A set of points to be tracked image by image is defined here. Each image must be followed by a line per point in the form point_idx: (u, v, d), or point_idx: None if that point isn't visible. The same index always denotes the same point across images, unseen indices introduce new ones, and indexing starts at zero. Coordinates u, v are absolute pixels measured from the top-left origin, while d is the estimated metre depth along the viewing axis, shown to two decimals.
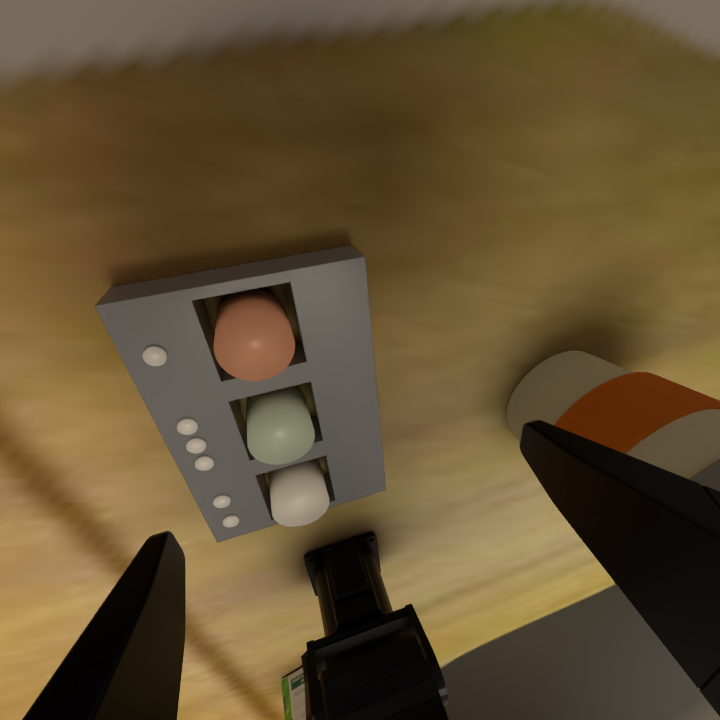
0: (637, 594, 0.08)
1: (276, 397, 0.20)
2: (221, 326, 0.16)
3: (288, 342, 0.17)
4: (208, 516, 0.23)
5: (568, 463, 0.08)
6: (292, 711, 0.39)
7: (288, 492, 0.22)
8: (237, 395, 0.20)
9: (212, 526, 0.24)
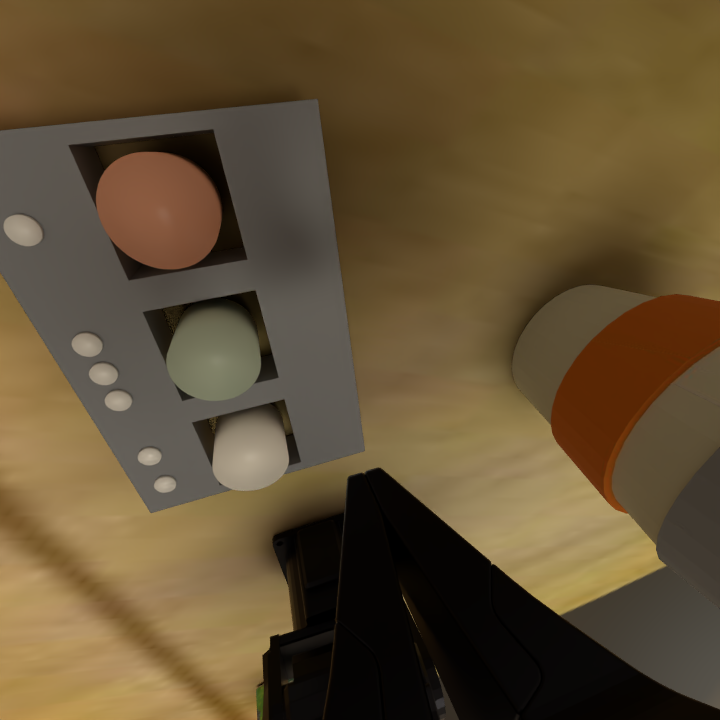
0: (443, 677, 0.07)
1: (209, 310, 0.15)
2: (104, 173, 0.11)
3: (209, 210, 0.12)
4: (134, 476, 0.18)
5: (385, 524, 0.07)
6: None
7: (232, 442, 0.17)
8: (153, 303, 0.15)
9: (141, 491, 0.19)
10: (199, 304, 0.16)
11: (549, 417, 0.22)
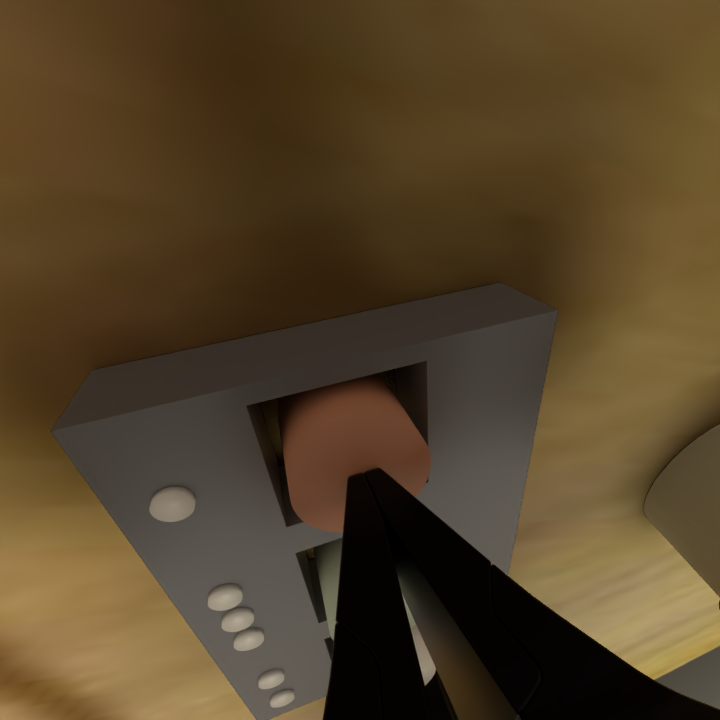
0: (443, 677, 0.07)
1: None
2: (308, 453, 0.08)
3: (420, 466, 0.09)
4: (249, 697, 0.15)
5: (385, 524, 0.07)
6: None
7: None
8: (310, 543, 0.11)
9: (253, 707, 0.15)
10: None
11: (710, 579, 0.19)
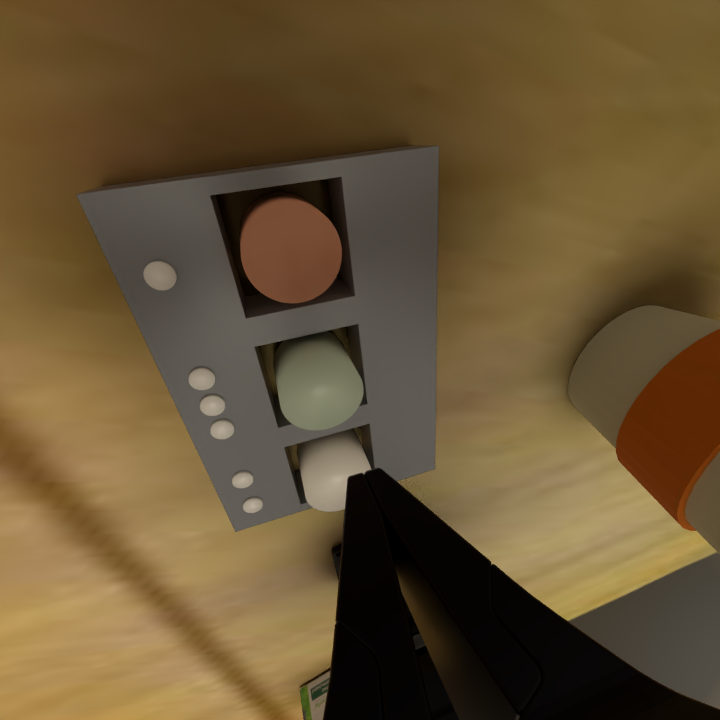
0: (443, 677, 0.07)
1: (314, 343, 0.16)
2: (251, 221, 0.12)
3: (334, 251, 0.14)
4: (225, 498, 0.19)
5: (385, 524, 0.07)
6: None
7: (326, 467, 0.18)
8: (265, 339, 0.15)
9: (230, 511, 0.19)
10: None
11: (611, 436, 0.23)
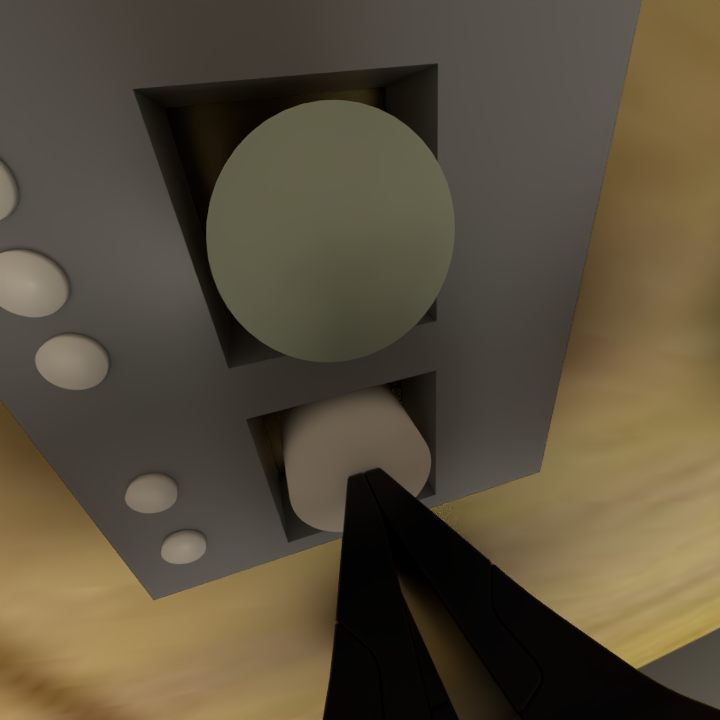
0: (443, 677, 0.07)
1: None
2: None
3: None
4: (118, 535, 0.08)
5: (385, 524, 0.07)
6: None
7: (334, 437, 0.08)
8: (166, 64, 0.05)
9: (134, 562, 0.09)
10: None
11: None
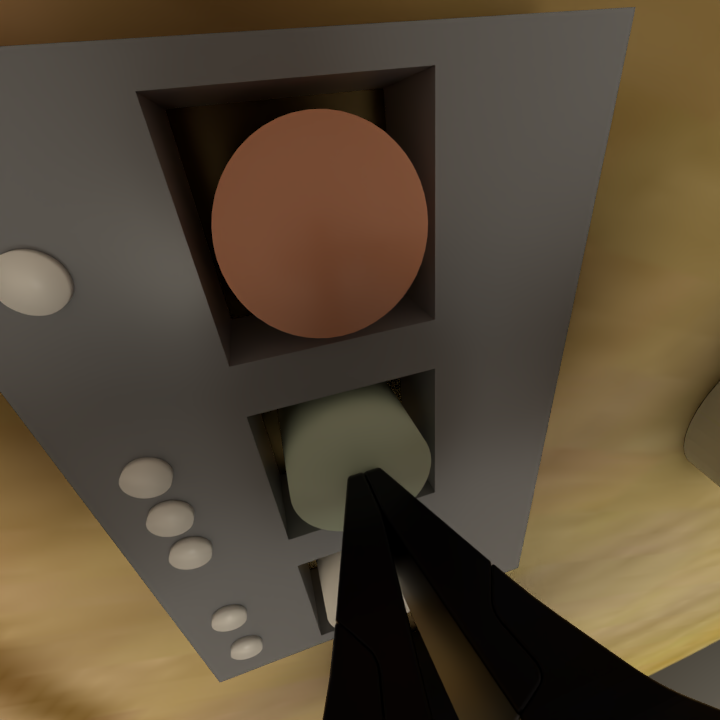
0: (443, 677, 0.07)
1: None
2: (235, 155, 0.05)
3: (412, 230, 0.06)
4: (202, 644, 0.12)
5: (385, 524, 0.07)
6: None
7: None
8: (267, 402, 0.08)
9: (210, 659, 0.12)
10: None
11: None
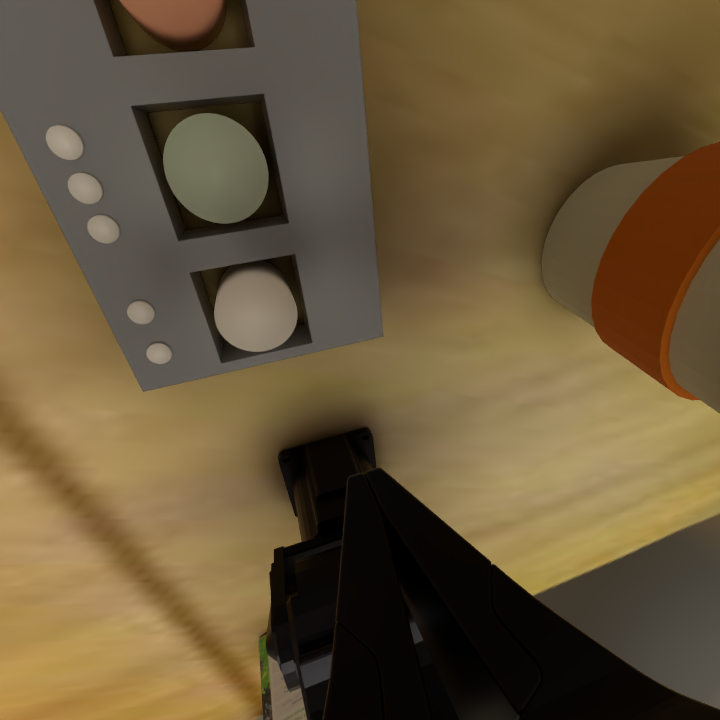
0: (443, 677, 0.07)
1: None
2: None
3: None
4: (123, 339, 0.16)
5: (385, 524, 0.07)
6: (270, 674, 0.31)
7: (235, 282, 0.16)
8: (143, 95, 0.12)
9: (132, 360, 0.16)
10: None
11: (587, 302, 0.20)
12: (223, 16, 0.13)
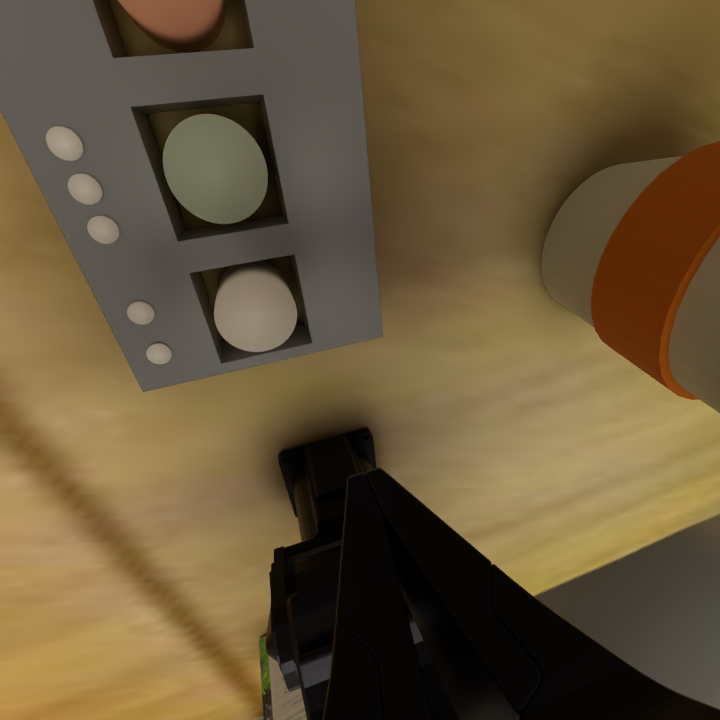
0: (443, 677, 0.07)
1: None
2: None
3: None
4: (123, 340, 0.16)
5: (385, 524, 0.07)
6: (270, 675, 0.31)
7: (235, 283, 0.16)
8: (143, 97, 0.12)
9: (132, 360, 0.16)
10: None
11: (587, 302, 0.20)
12: (222, 17, 0.13)
